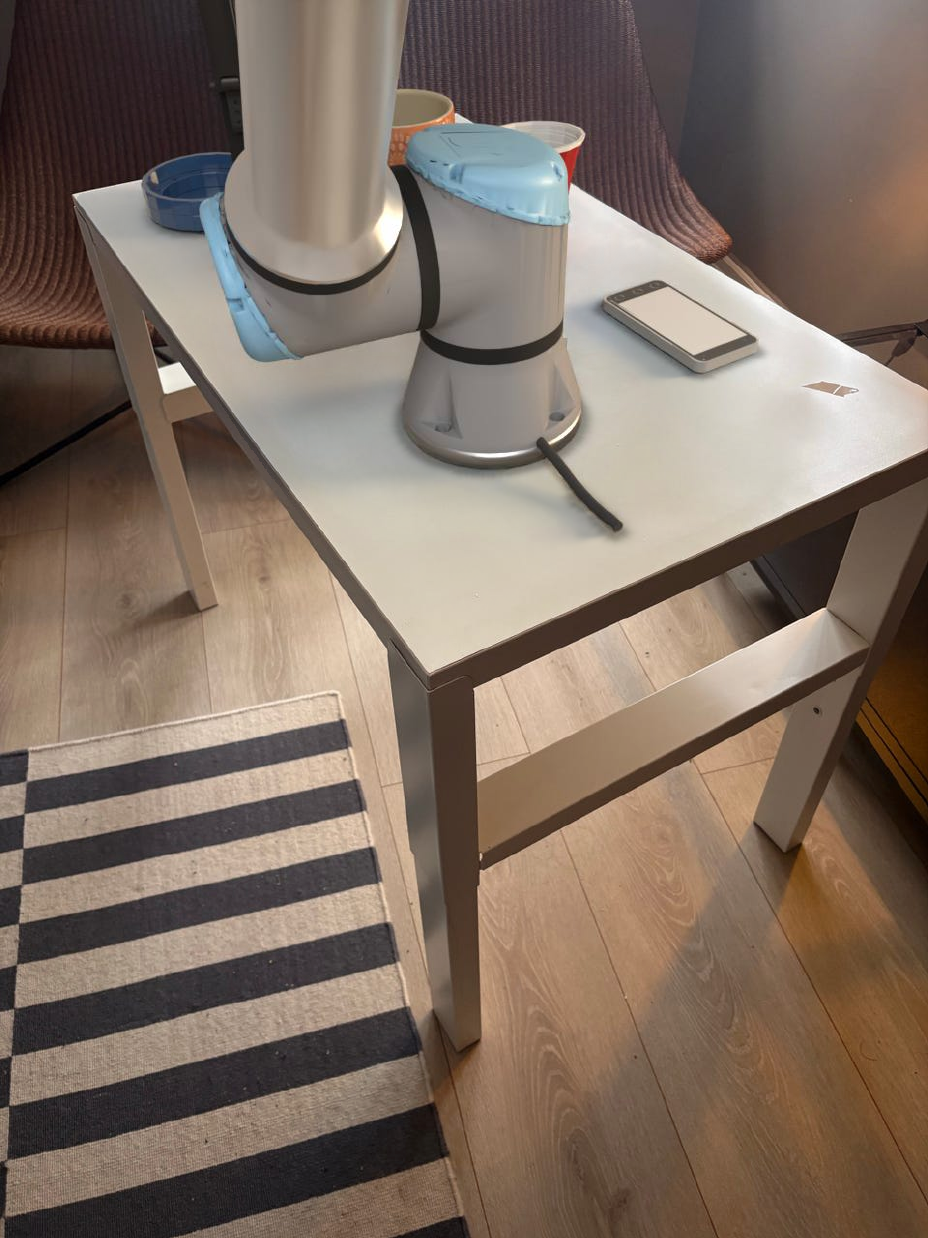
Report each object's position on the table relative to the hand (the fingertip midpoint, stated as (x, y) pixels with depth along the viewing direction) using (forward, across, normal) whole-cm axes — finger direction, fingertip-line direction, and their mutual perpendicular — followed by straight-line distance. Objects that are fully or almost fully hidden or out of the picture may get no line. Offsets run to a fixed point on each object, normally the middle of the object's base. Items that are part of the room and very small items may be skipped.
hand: (249, 162), depth 91 cm
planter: (+15, +24, -15) cm, 32 cm away
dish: (+15, +27, +8) cm, 32 cm away
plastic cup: (+15, +11, -28) cm, 33 cm away
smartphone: (+15, -10, -39) cm, 43 cm away
